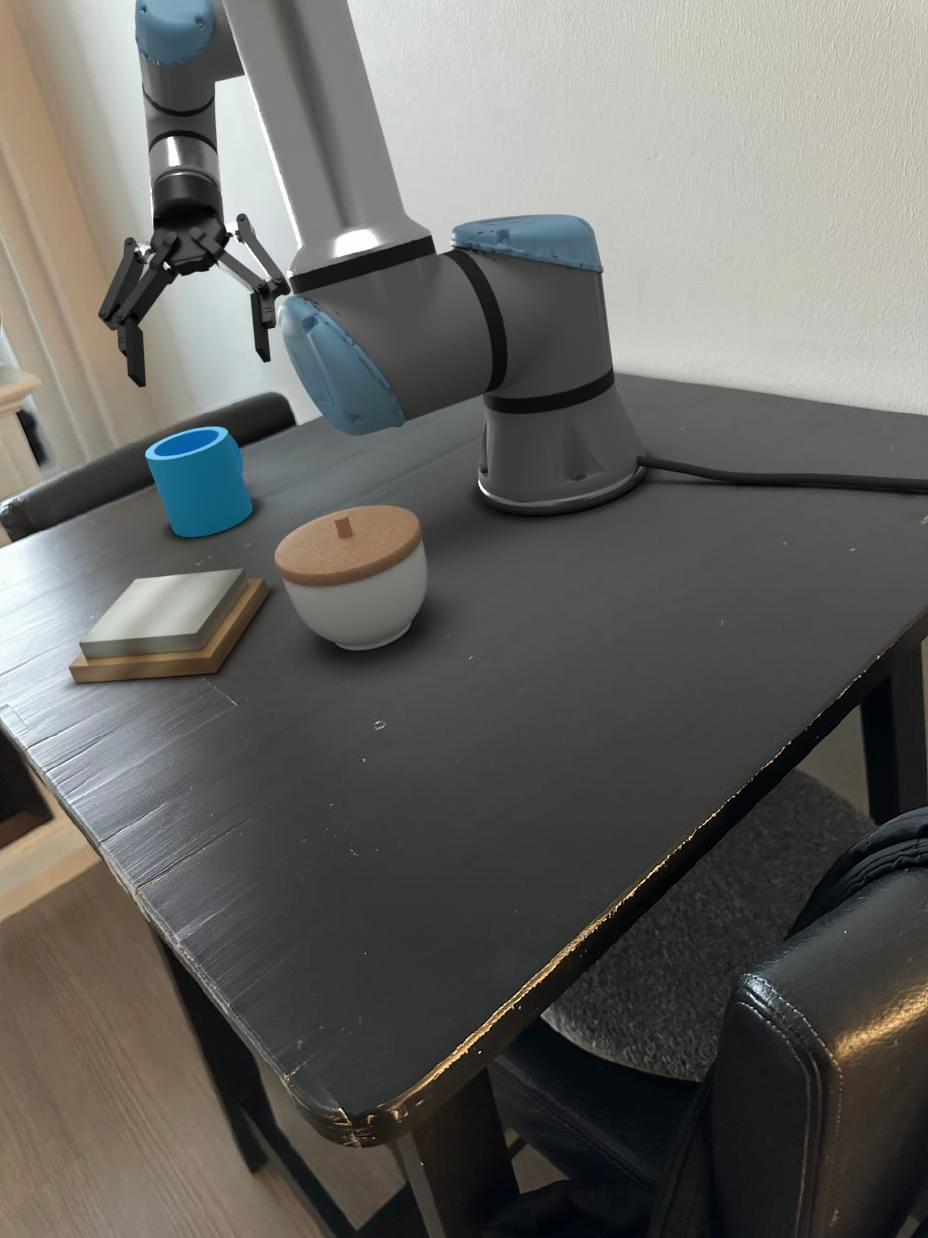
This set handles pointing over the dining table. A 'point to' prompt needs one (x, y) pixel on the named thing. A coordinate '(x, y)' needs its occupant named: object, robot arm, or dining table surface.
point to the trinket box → (356, 574)
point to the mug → (200, 481)
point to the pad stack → (170, 627)
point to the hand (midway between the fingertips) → (199, 368)
